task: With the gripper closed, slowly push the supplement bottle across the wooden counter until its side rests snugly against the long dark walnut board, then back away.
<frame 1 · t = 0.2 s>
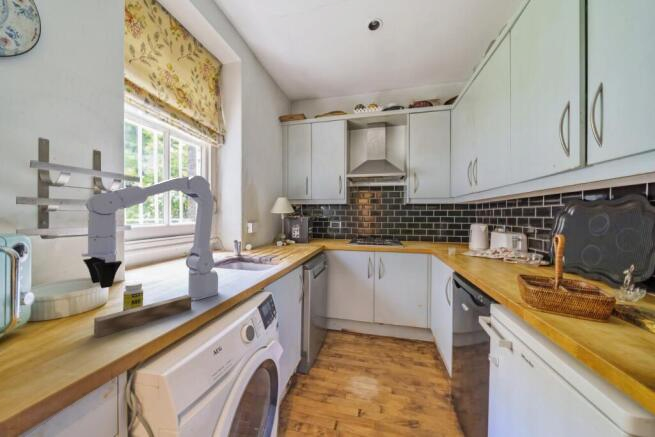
hand: (102, 284, 66), 10 cm above the worktop, tool pointing down, fingers open, 7 cm apart
supplement bottle: (133, 311, 74), on the worktop
walnut board: (148, 320, 67), on the worktop
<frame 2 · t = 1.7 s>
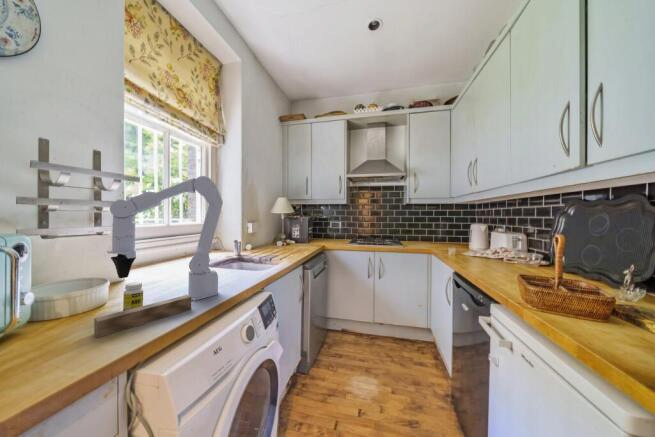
hand: (123, 277, 78), 9 cm above the worktop, tool pointing down, fingers closed
nothing on the worktop moved.
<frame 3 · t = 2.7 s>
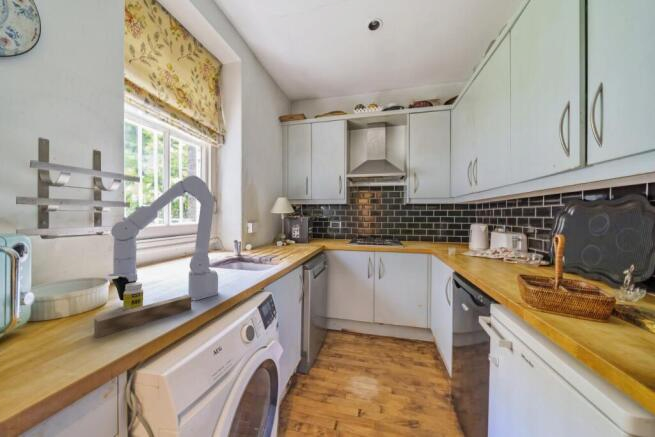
hand: (124, 299, 78), 2 cm above the worktop, tool pointing down, fingers closed
nothing on the worktop moved.
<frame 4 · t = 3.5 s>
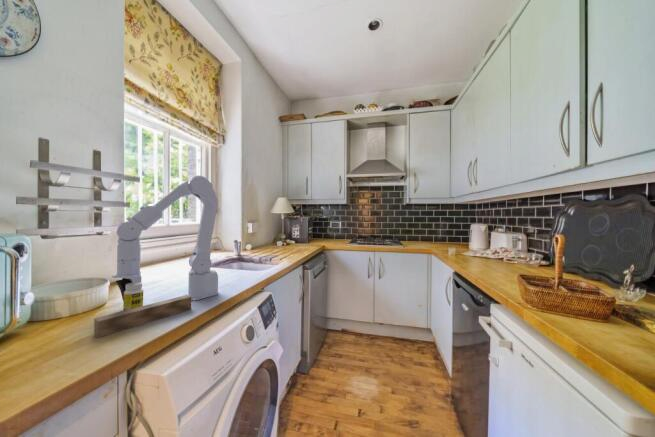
hand: (128, 301, 76), 2 cm above the worktop, tool pointing down, fingers closed
supplement bottle: (133, 311, 74), on the worktop, touching gripper
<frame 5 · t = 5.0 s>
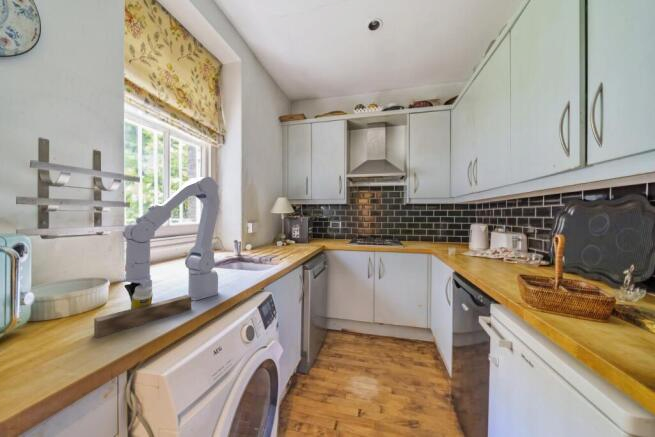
hand: (137, 307, 72), 2 cm above the worktop, tool pointing down, fingers closed
supplement bottle: (140, 313, 70), on the worktop, touching gripper
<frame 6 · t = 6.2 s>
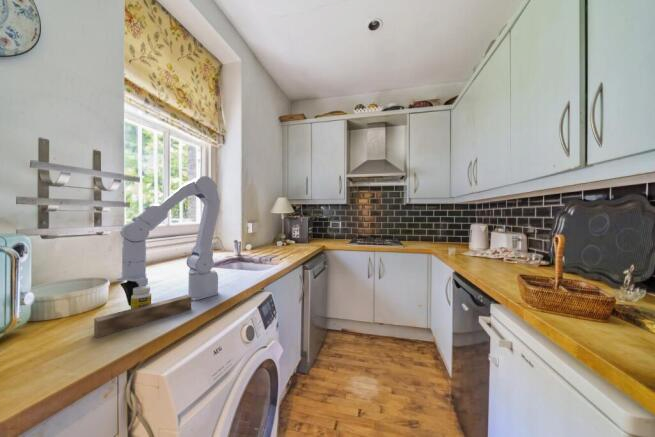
hand: (133, 304, 73), 2 cm above the worktop, tool pointing down, fingers closed
supplement bottle: (140, 316, 70), on the worktop
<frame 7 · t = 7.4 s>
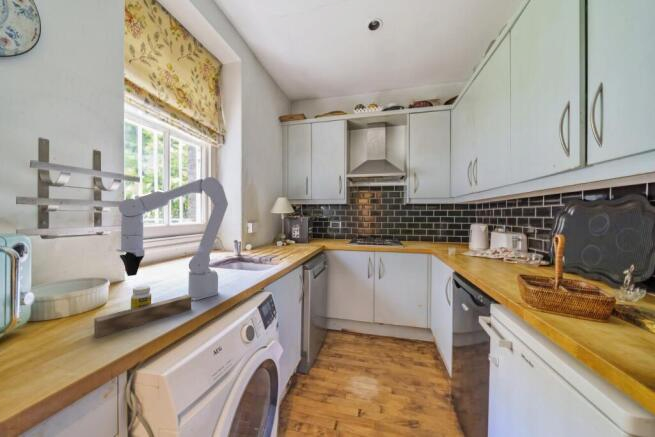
hand: (131, 275, 80), 9 cm above the worktop, tool pointing down, fingers closed
nothing on the worktop moved.
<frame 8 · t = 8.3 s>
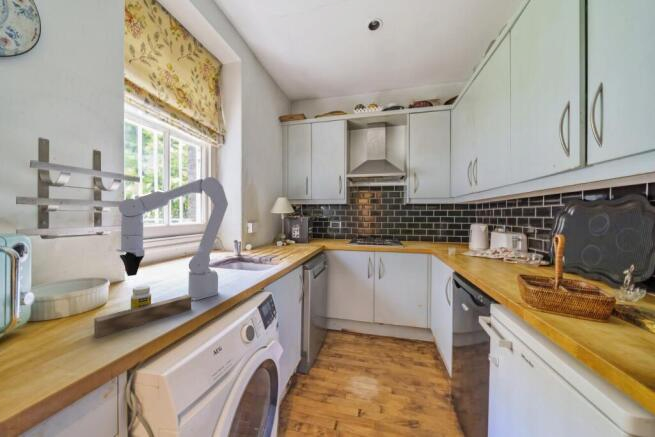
hand: (131, 275, 80), 9 cm above the worktop, tool pointing down, fingers closed
nothing on the worktop moved.
at the end: supplement bottle inside the target area on the worktop beside the walnut board (0.9 cm from its centre), on the worktop; supplement bottle tilted 0° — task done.
